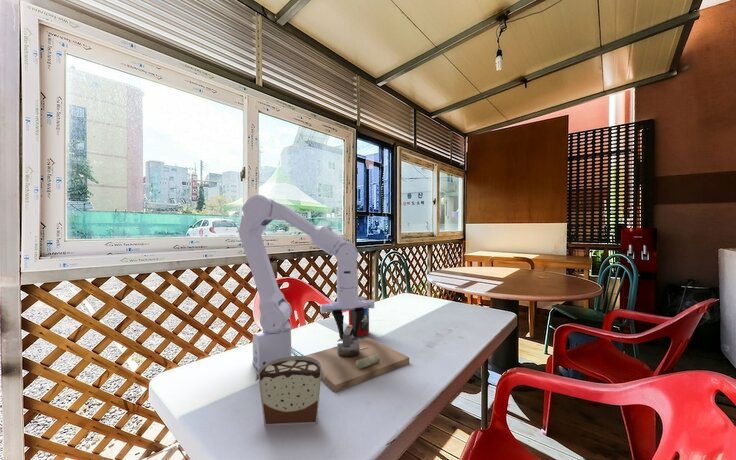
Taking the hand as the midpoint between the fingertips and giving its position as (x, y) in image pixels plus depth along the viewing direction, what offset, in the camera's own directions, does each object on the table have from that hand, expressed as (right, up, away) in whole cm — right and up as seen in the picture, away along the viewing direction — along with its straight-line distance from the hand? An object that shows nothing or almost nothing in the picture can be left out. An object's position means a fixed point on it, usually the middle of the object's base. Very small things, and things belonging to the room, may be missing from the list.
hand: (348, 336), depth 79 cm
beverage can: (+2, -6, +19) cm, 20 cm away
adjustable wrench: (-17, -7, +7) cm, 20 cm away
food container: (-9, -6, -23) cm, 26 cm away
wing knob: (0, -4, 0) cm, 4 cm away
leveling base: (+2, -6, -2) cm, 7 cm away
